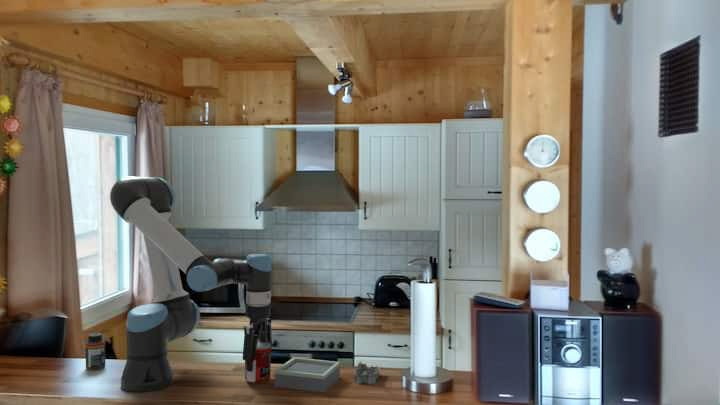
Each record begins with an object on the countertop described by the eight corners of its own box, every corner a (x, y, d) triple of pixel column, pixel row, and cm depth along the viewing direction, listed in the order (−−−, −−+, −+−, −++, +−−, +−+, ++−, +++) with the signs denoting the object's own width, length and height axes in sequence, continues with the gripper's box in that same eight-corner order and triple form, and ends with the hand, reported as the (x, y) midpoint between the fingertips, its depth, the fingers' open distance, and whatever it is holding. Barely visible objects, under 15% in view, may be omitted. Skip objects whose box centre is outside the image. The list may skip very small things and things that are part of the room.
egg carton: (359, 373, 186) (359, 360, 186) (382, 375, 184) (382, 362, 184) (351, 383, 176) (351, 370, 176) (375, 385, 174) (375, 372, 174)
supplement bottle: (87, 366, 191) (87, 332, 190) (107, 364, 192) (106, 331, 192) (83, 371, 185) (83, 337, 185) (103, 370, 186) (103, 336, 186)
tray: (274, 386, 172) (274, 370, 172) (293, 372, 185) (293, 357, 185) (323, 392, 167) (324, 375, 167) (339, 377, 181) (339, 362, 180)
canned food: (265, 384, 173) (265, 348, 172) (240, 382, 174) (240, 346, 174) (274, 376, 180) (274, 341, 180) (250, 374, 182) (250, 339, 181)
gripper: (253, 311, 166) (252, 389, 166) (283, 298, 185) (282, 368, 186) (230, 309, 168) (229, 386, 168) (262, 297, 187) (262, 365, 188)
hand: (257, 376), depth 177 cm, fingers closed on canned food, 8 cm apart
